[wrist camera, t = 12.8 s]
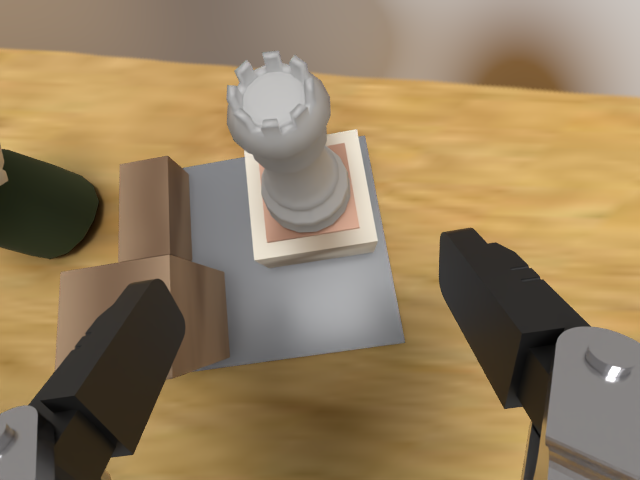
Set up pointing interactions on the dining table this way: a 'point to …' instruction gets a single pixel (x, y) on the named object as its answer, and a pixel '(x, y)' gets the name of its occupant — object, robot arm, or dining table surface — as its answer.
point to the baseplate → (288, 279)
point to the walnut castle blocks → (151, 267)
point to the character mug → (42, 206)
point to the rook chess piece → (289, 141)
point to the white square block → (331, 242)
